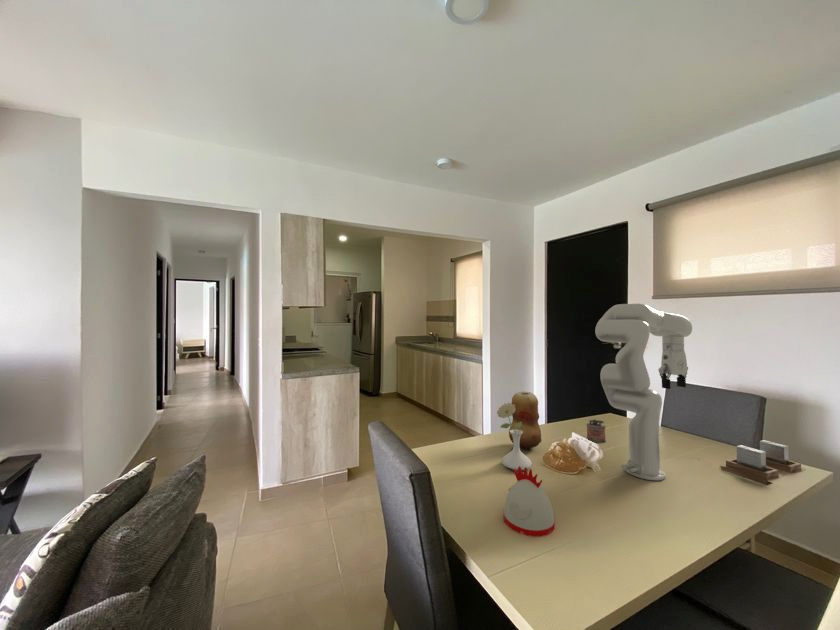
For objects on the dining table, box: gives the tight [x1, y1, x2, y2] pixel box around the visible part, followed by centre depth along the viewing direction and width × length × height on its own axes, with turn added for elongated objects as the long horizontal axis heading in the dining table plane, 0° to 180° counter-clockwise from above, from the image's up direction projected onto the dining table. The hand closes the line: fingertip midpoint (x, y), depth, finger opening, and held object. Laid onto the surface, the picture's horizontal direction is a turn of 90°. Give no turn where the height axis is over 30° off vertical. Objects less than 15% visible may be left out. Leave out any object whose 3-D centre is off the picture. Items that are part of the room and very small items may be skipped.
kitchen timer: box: [502, 466, 556, 538], centre depth 95 cm, size 14×14×15 cm
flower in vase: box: [496, 402, 533, 471], centre depth 130 cm, size 13×11×25 cm
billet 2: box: [759, 439, 790, 465], centre depth 128 cm, size 3×7×8 cm, turn 20°
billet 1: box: [736, 444, 766, 472], centre depth 123 cm, size 3×7×8 cm, turn 20°
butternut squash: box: [508, 391, 542, 450], centre depth 149 cm, size 14×13×25 cm
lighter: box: [586, 418, 607, 443], centre depth 159 cm, size 8×3×10 cm, turn 62°
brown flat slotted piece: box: [720, 457, 806, 486], centre depth 125 cm, size 26×13×4 cm, turn 110°
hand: (673, 387), depth 143 cm, fingers open, 9 cm apart
